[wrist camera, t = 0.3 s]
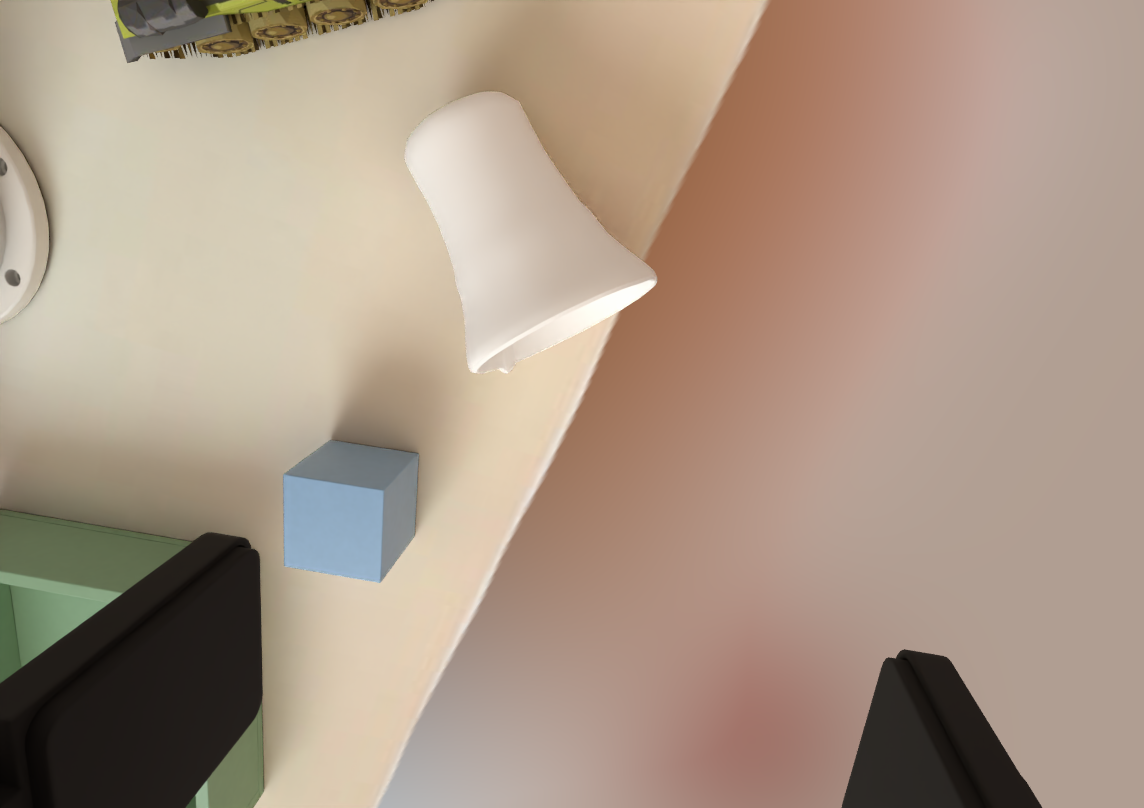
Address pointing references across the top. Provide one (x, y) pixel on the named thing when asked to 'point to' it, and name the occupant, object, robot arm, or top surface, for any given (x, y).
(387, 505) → the blue block
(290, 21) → the toy tank
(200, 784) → the robot arm
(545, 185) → the cup
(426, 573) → the top surface
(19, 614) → the toy bin
